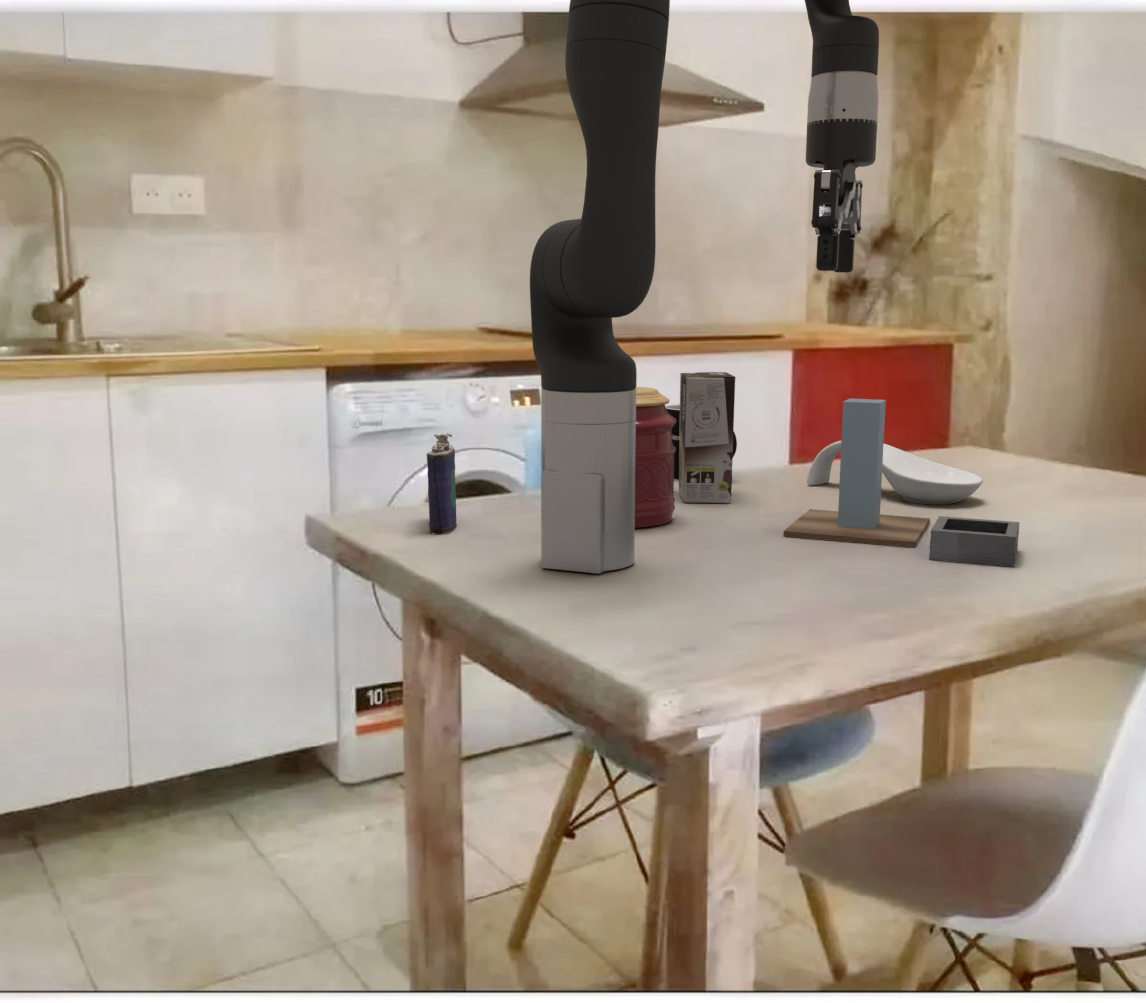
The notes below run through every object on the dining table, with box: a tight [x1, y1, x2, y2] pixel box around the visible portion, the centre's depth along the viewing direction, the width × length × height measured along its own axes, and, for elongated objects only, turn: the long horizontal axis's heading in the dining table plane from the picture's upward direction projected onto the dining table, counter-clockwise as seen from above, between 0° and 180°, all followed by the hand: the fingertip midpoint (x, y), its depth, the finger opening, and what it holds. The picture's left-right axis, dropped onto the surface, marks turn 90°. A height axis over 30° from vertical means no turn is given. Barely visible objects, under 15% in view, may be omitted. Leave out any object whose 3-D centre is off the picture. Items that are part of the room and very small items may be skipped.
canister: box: [635, 386, 676, 529], centre depth 135 cm, size 13×13×18 cm
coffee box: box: [678, 371, 737, 504], centre depth 150 cm, size 9×6×16 cm
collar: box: [928, 515, 1020, 568], centre depth 119 cm, size 8×8×3 cm
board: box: [782, 508, 931, 549], centre depth 131 cm, size 14×14×1 cm
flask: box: [426, 432, 458, 535], centre depth 132 cm, size 9×3×11 cm, turn 1°
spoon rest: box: [806, 440, 984, 505], centre depth 153 cm, size 24×12×7 cm, turn 46°
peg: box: [837, 398, 887, 529], centre depth 130 cm, size 4×4×14 cm
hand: (835, 271), depth 129 cm, fingers open, 8 cm apart
